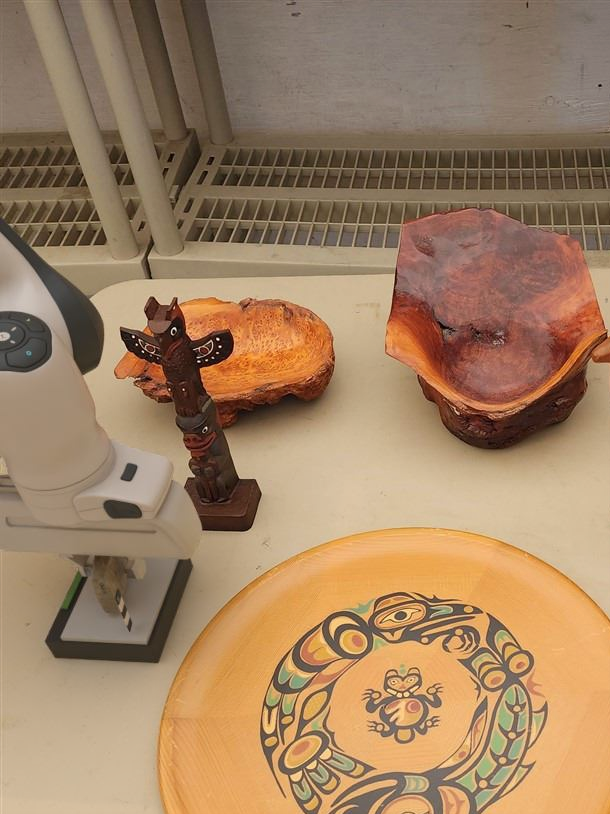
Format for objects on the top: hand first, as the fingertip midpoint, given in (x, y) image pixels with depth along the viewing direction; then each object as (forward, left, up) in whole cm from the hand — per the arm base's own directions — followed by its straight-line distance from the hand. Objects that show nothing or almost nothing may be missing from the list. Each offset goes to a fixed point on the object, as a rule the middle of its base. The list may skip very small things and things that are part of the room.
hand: (115, 572), depth 89 cm
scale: (-1, 0, -6) cm, 6 cm away
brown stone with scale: (0, 0, -2) cm, 2 cm away
